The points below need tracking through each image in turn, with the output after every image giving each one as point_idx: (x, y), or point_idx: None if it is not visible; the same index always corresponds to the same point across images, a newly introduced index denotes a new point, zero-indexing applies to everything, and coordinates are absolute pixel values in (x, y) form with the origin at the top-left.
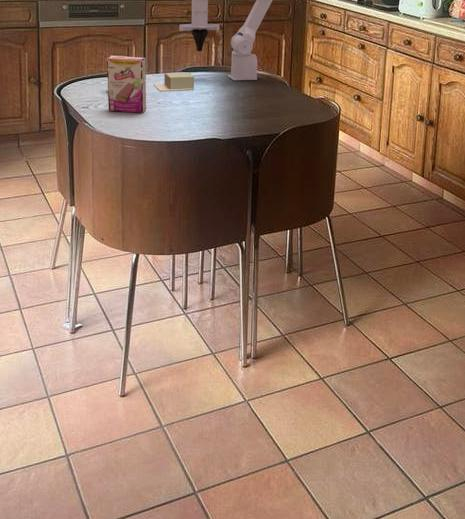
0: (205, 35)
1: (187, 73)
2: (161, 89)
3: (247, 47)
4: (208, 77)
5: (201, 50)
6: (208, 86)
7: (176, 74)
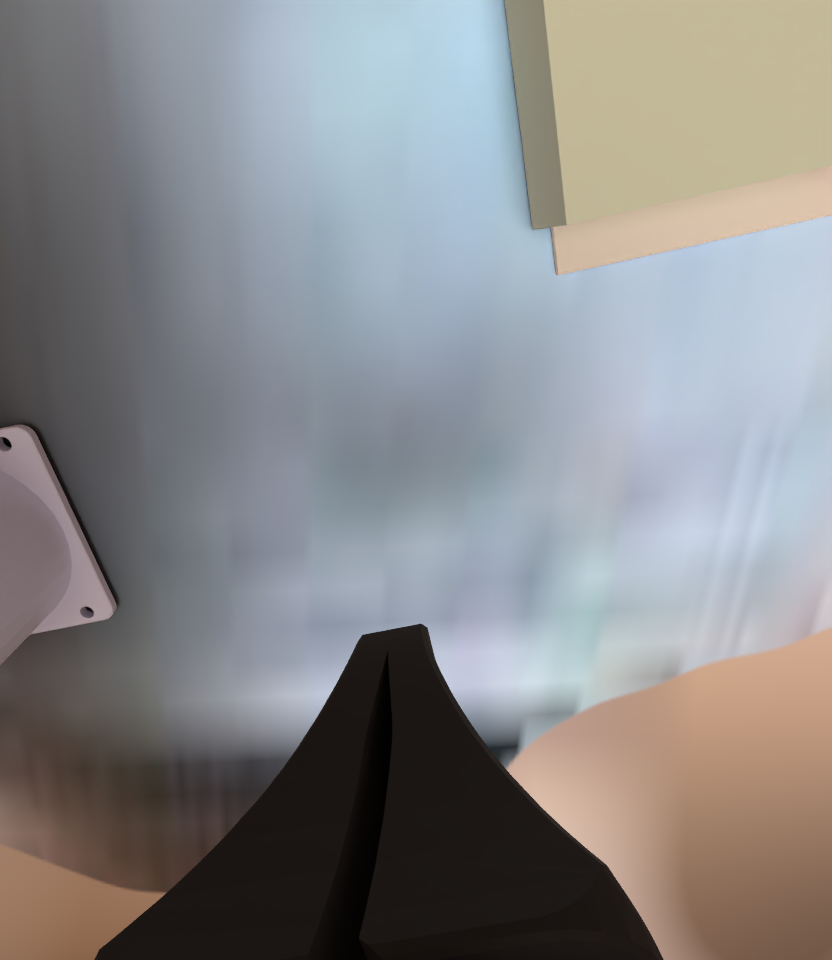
0: (196, 903)
1: (597, 151)
2: None
3: None
4: (303, 564)
5: (363, 641)
6: (306, 132)
7: (779, 59)
